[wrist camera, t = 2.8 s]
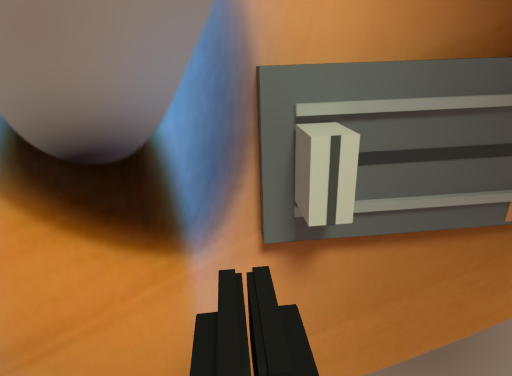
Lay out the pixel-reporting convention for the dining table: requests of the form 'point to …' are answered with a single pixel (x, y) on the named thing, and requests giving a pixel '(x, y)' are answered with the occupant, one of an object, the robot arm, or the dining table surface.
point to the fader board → (393, 143)
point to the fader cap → (326, 172)
